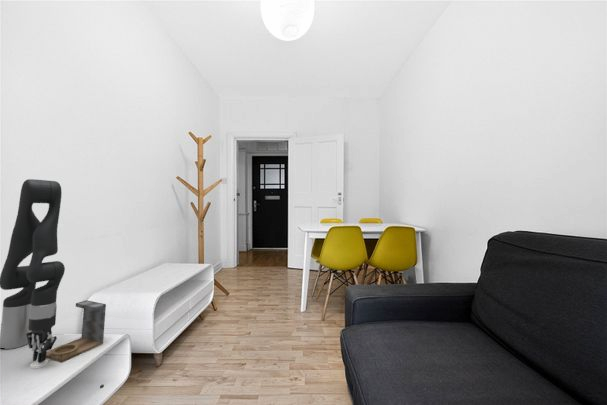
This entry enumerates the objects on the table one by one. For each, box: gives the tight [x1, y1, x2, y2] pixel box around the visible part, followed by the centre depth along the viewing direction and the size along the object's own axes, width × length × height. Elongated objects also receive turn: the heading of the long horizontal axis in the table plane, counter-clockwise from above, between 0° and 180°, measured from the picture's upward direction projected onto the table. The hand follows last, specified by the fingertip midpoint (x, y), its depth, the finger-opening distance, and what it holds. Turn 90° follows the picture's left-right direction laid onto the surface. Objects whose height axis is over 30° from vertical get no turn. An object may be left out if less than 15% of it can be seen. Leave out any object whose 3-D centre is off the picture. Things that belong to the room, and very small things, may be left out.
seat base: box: [46, 300, 107, 363], centre depth 115 cm, size 12×16×18 cm
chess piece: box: [29, 342, 49, 369], centre depth 104 cm, size 5×5×10 cm
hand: (39, 360), depth 103 cm, fingers closed on chess piece
